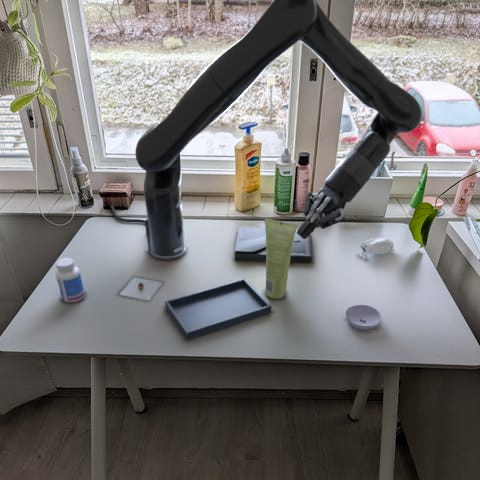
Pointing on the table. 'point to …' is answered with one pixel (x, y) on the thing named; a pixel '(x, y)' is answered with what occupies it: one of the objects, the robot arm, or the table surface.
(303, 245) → the picture frame
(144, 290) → the square paper sheet
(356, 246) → the table surface
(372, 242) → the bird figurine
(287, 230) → the tube
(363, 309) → the small lavender dish
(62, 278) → the pill bottle
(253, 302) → the tray
